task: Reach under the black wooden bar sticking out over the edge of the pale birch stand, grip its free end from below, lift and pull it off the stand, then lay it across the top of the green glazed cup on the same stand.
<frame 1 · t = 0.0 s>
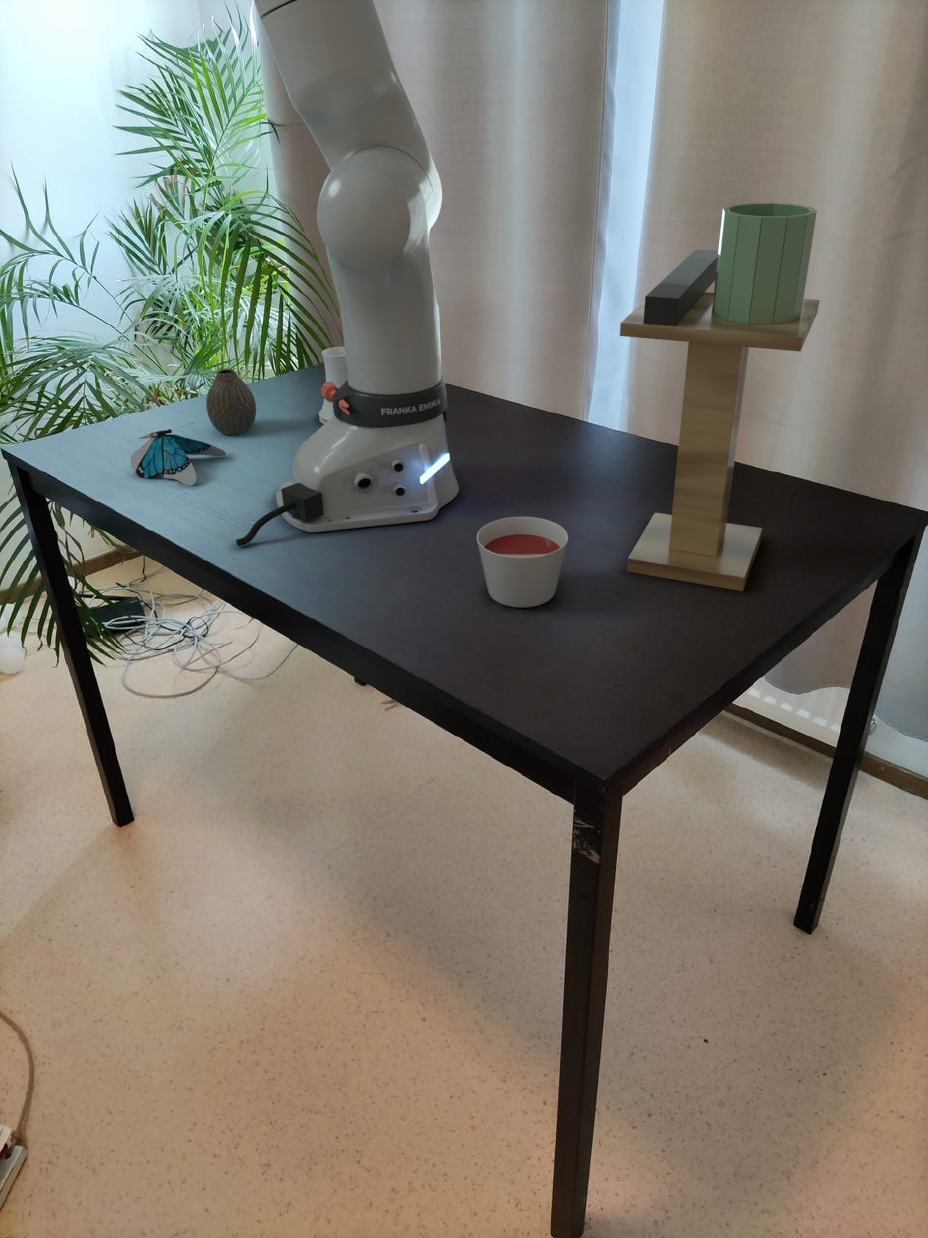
green cup: (755, 313, 90), point 26 cm above the table, touching birch stand
black bar: (685, 296, 97), point 26 cm above the table, touching birch stand
decorative butterfly: (175, 470, 130), on the table
white sauce bowl: (521, 593, 99), on the table
birch stand: (695, 556, 105), on the table
vase: (235, 431, 142), on the table
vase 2: (344, 419, 145), on the table
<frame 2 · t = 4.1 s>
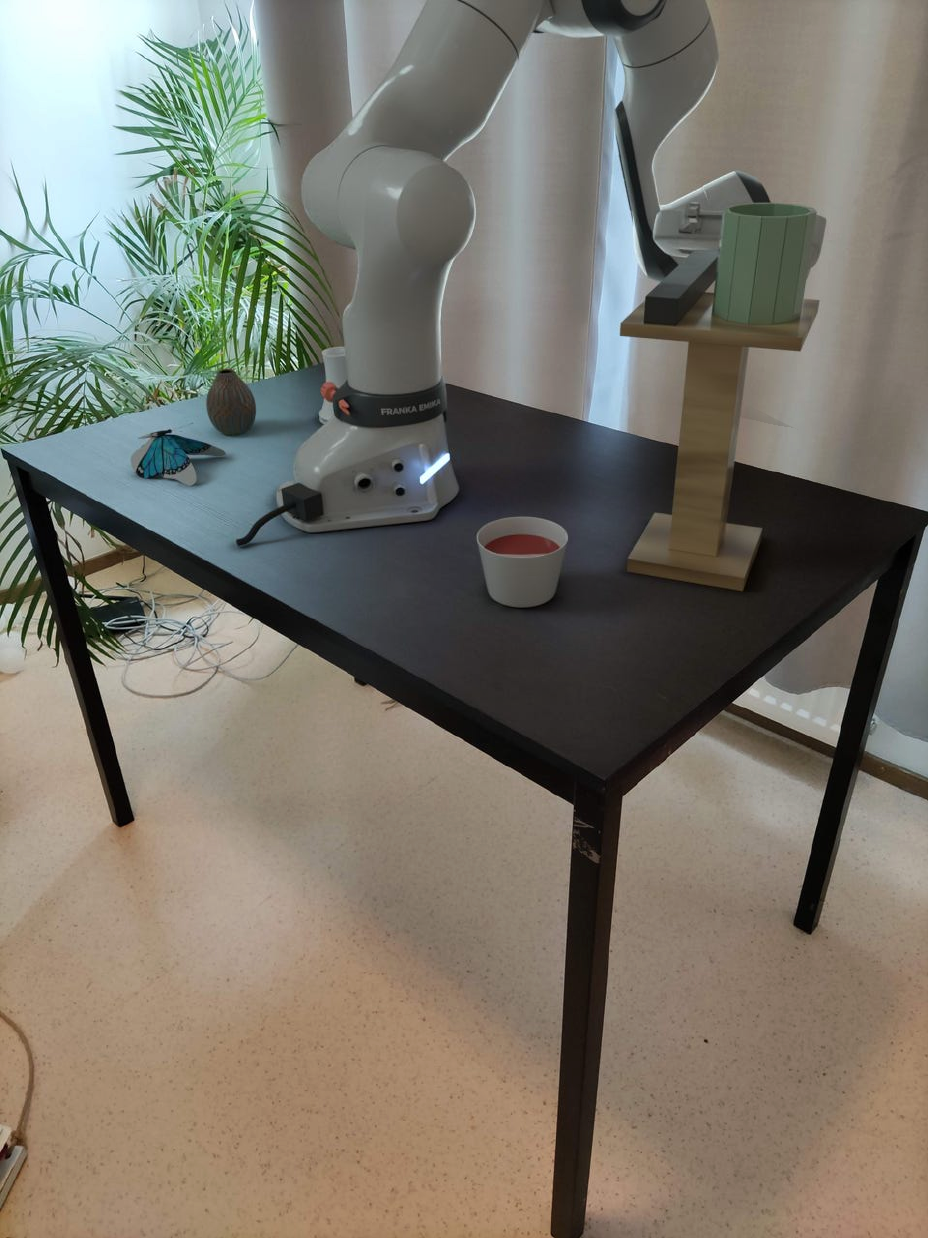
hand: (732, 210, 112), 31 cm above the table, tool pointing upward, fingers open, 8 cm apart
nothing on the table moved.
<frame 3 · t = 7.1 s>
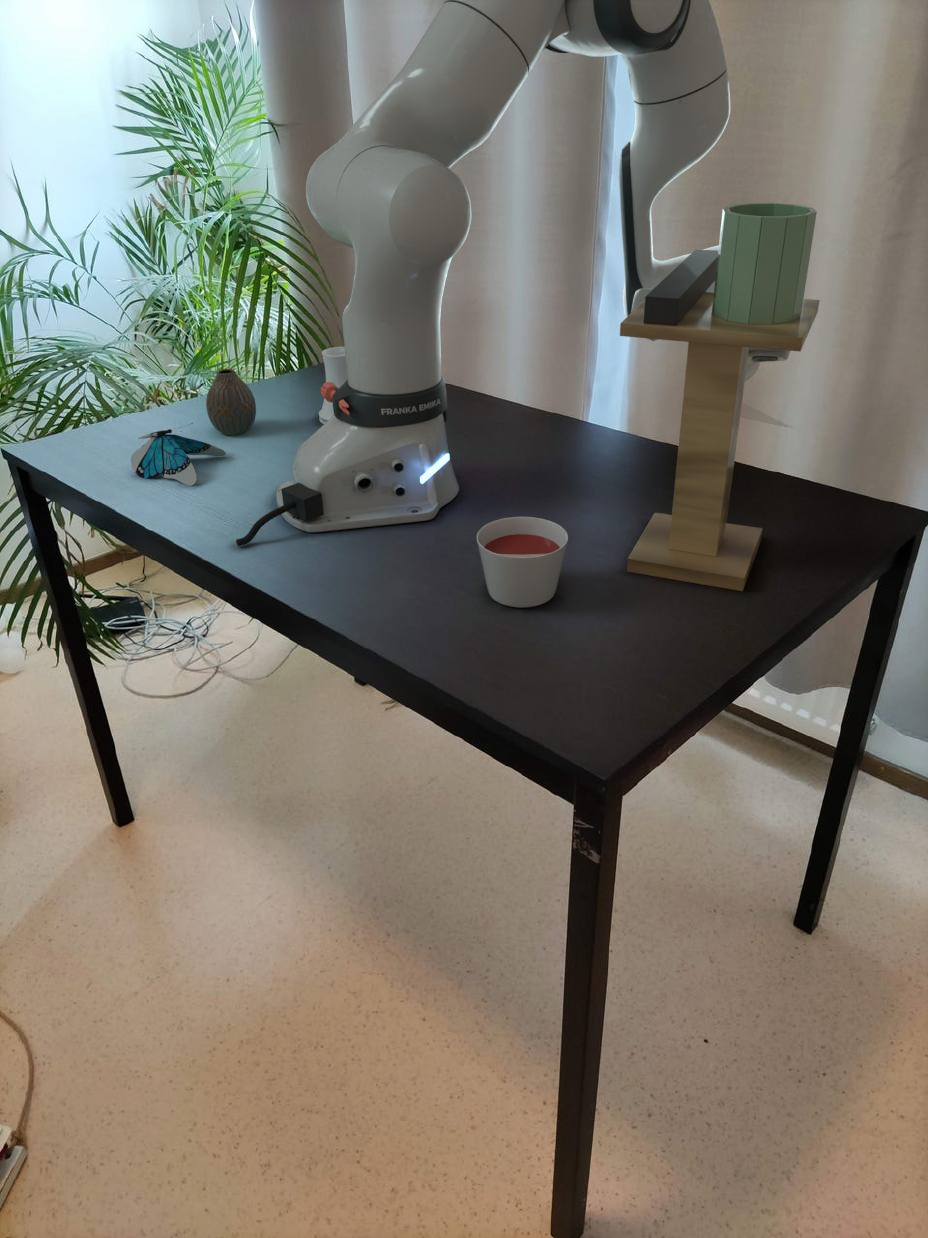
hand: (710, 294, 110), 23 cm above the table, tool pointing upward, fingers open, 8 cm apart
nothing on the table moved.
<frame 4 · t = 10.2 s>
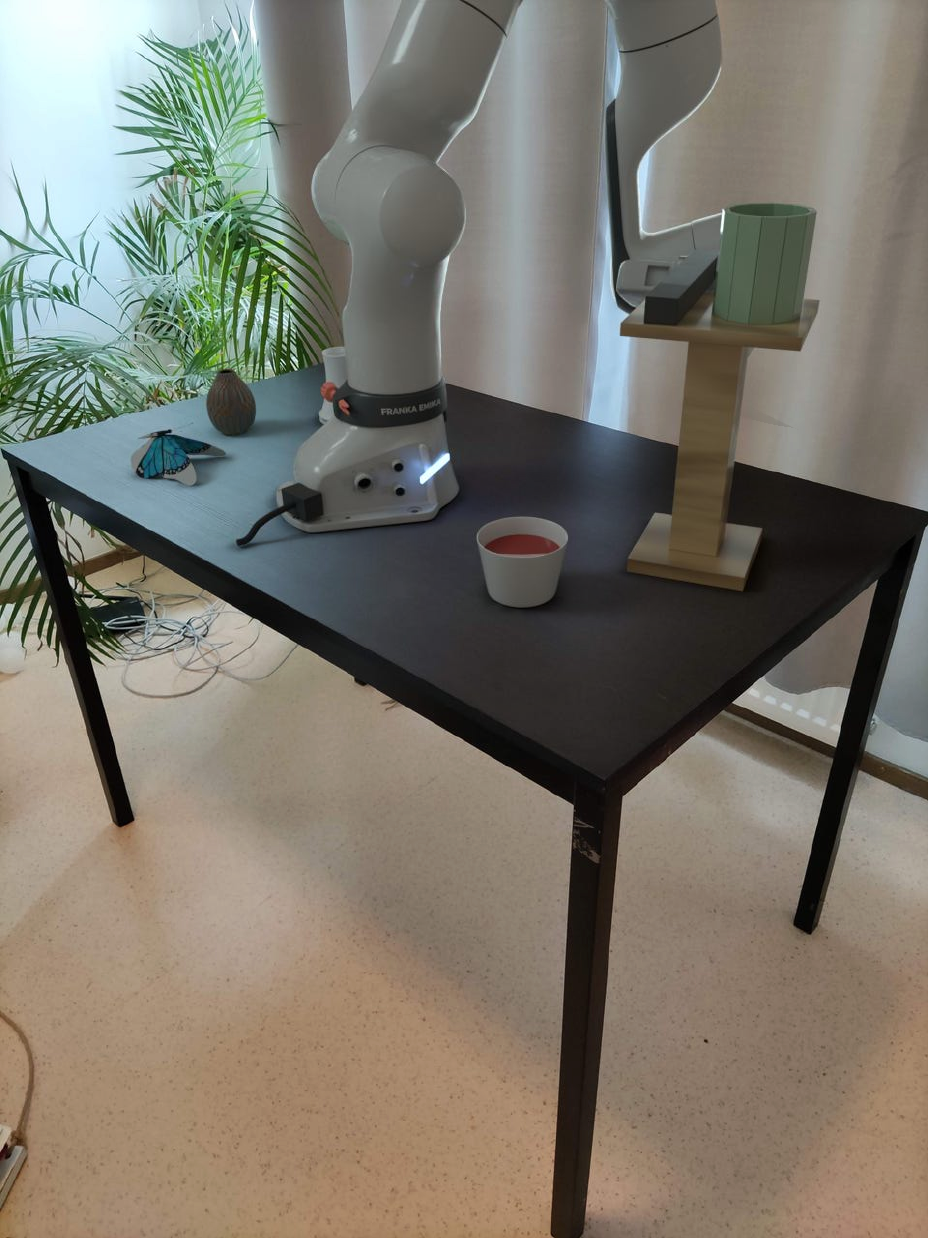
hand: (701, 264, 101), 28 cm above the table, tool pointing upward, fingers closed on black bar, 3 cm apart
black bar: (685, 296, 97), point 26 cm above the table, touching birch stand, gripper
everything else where it was.
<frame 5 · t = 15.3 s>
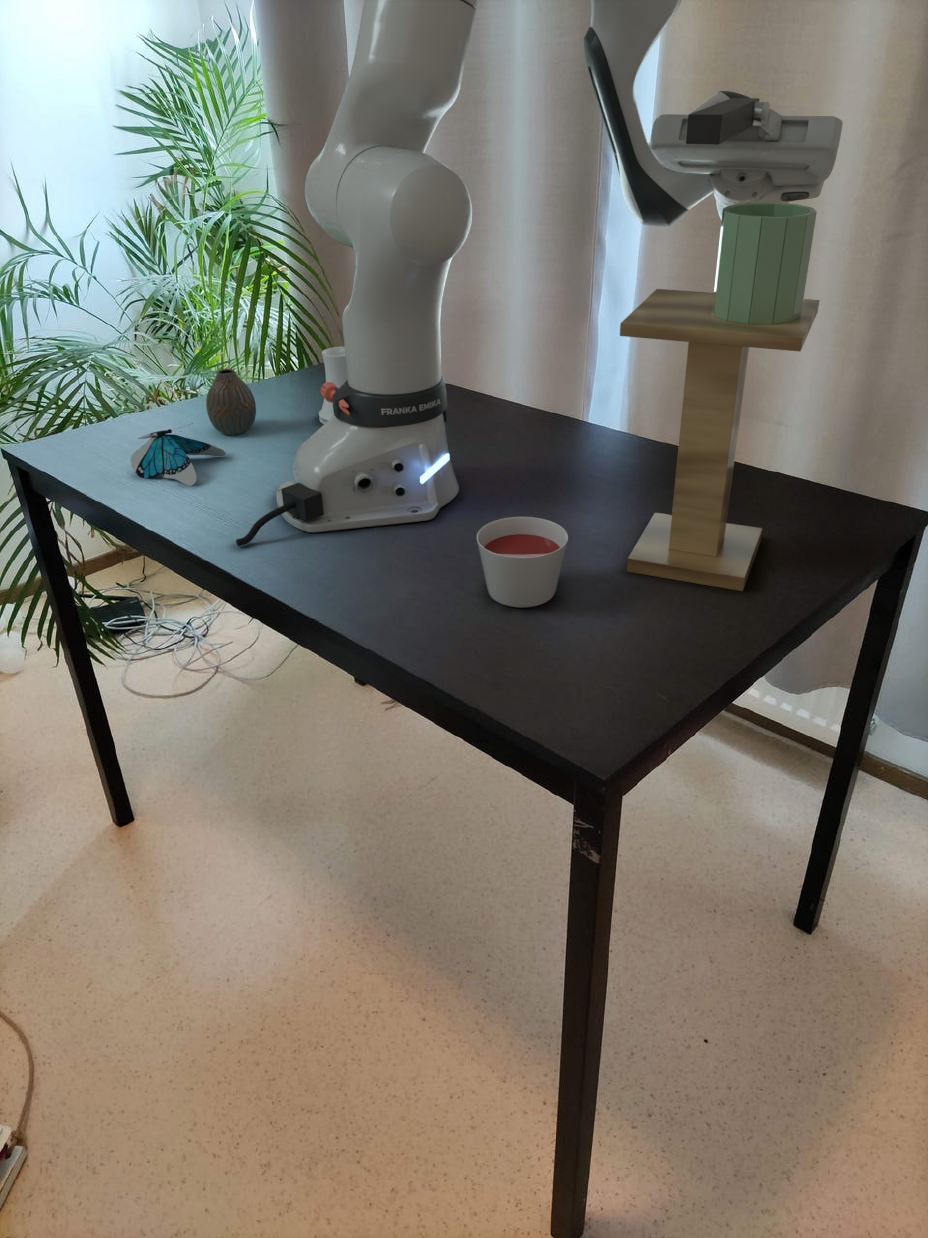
hand: (738, 108, 101), 41 cm above the table, tool pointing upward, fingers closed on black bar, 3 cm apart
black bar: (724, 132, 96), point 40 cm above the table, touching gripper
everything else where it was.
when the fingers open (37 cm above the table, at t = 20.2 s): black bar stays where it is, resting on green cup.
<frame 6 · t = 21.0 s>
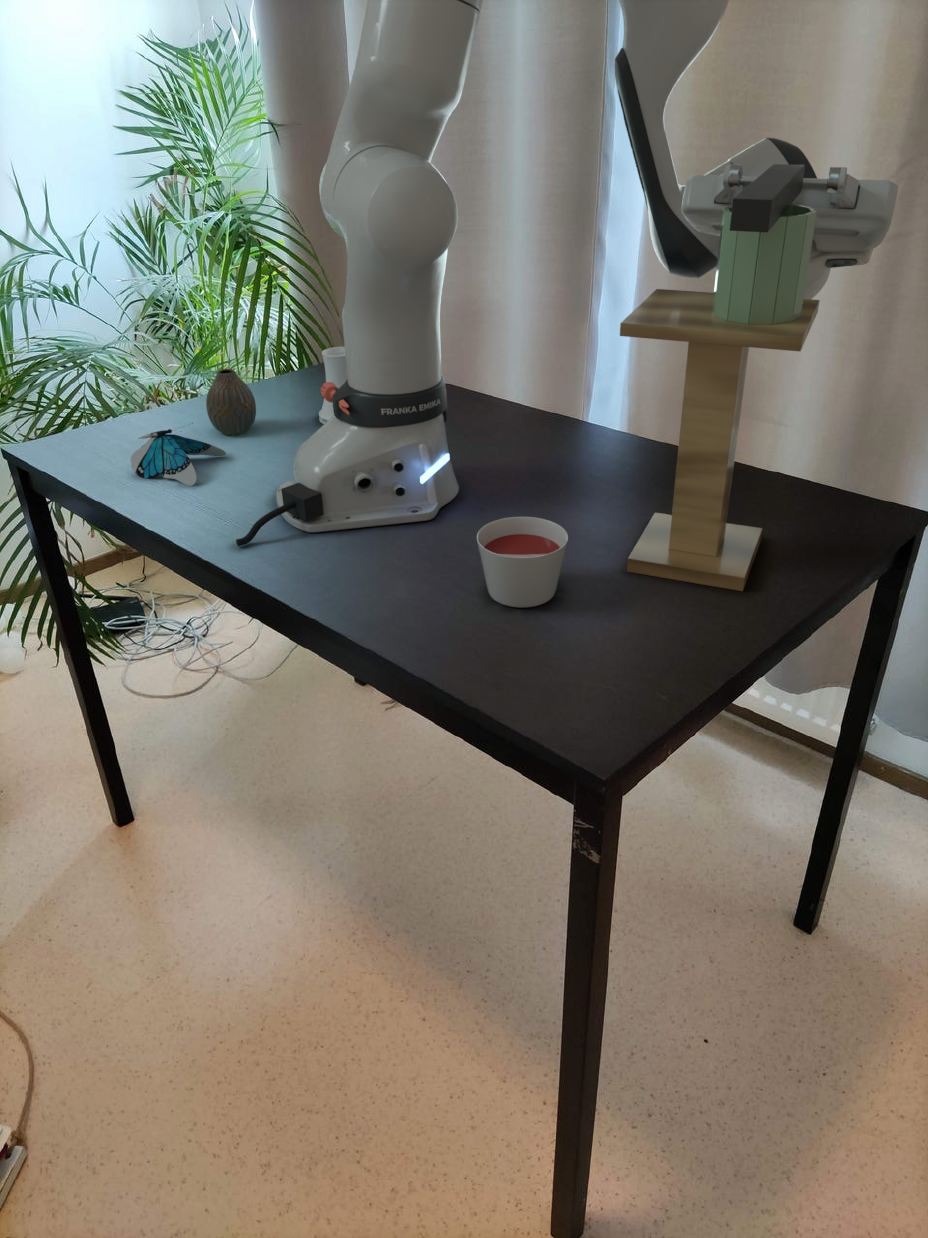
hand: (783, 173, 90), 37 cm above the table, tool pointing upward, fingers open, 8 cm apart
green cup: (755, 313, 90), point 26 cm above the table, touching birch stand, black bar
black bar: (768, 209, 86), point 35 cm above the table, touching green cup
everything else where it was.
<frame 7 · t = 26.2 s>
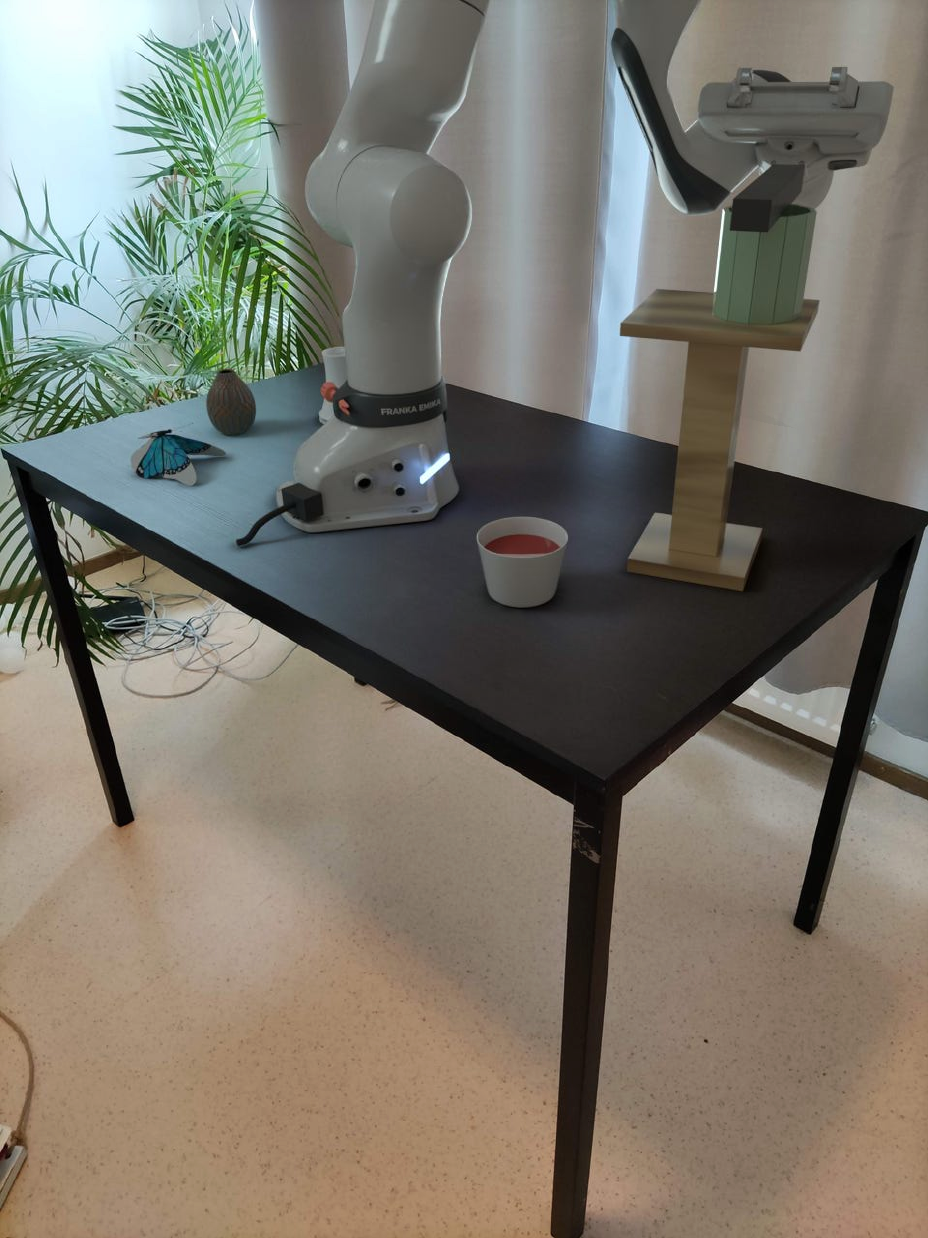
hand: (790, 73, 100), 44 cm above the table, tool pointing upward, fingers open, 8 cm apart
nothing on the table moved.
at the end: black bar 0.0 cm off-centre on the green cup, point 9.0 cm above the green cup's base; black bar touching green cup; green cup tilted 0° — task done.
